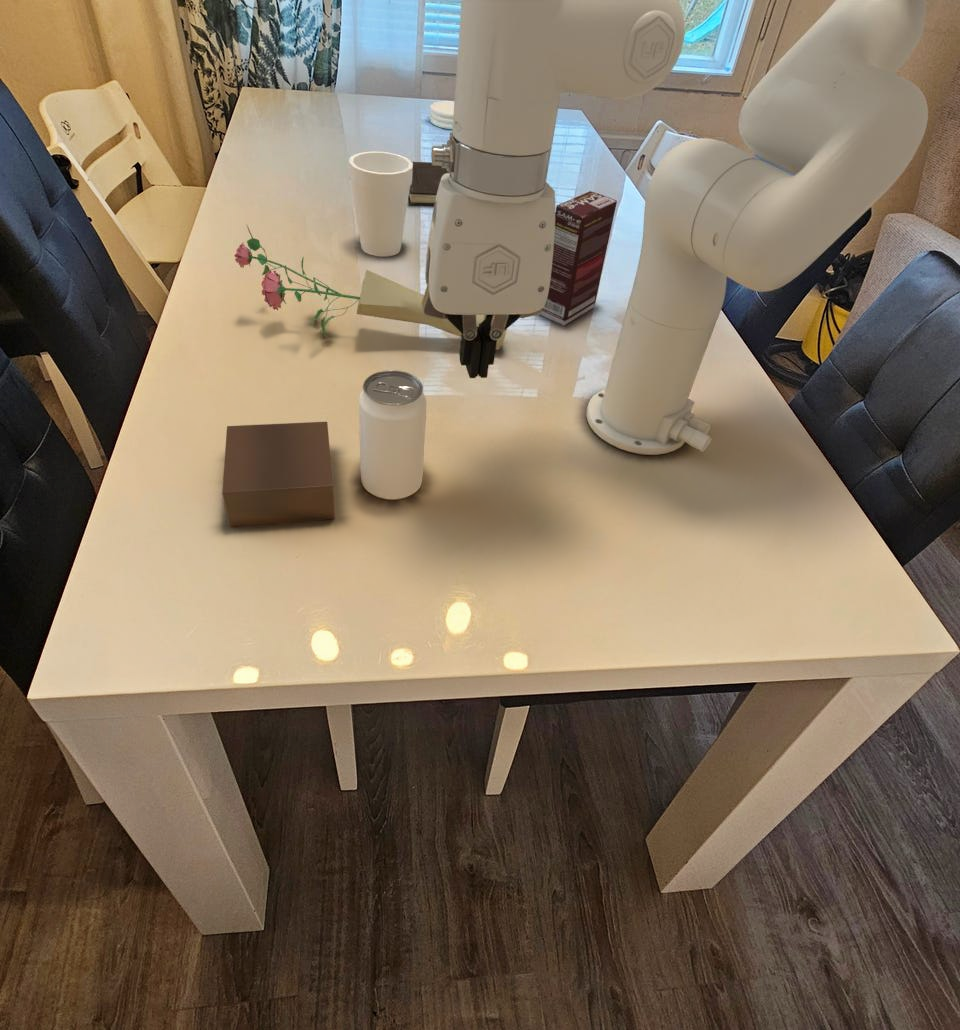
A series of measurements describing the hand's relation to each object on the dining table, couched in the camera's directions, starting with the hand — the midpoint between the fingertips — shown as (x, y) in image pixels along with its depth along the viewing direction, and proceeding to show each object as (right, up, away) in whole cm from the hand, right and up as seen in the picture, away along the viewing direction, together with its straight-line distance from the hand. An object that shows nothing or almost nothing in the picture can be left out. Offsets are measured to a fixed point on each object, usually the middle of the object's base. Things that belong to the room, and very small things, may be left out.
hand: (475, 369), depth 67 cm
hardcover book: (-2, +48, +68) cm, 83 cm away
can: (-9, -10, +8) cm, 16 cm away
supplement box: (+13, +16, +38) cm, 44 cm away
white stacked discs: (-6, +77, +96) cm, 123 cm away
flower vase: (-14, +10, +28) cm, 33 cm away
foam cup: (-15, +29, +47) cm, 58 cm away
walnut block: (-20, -11, +6) cm, 23 cm away
